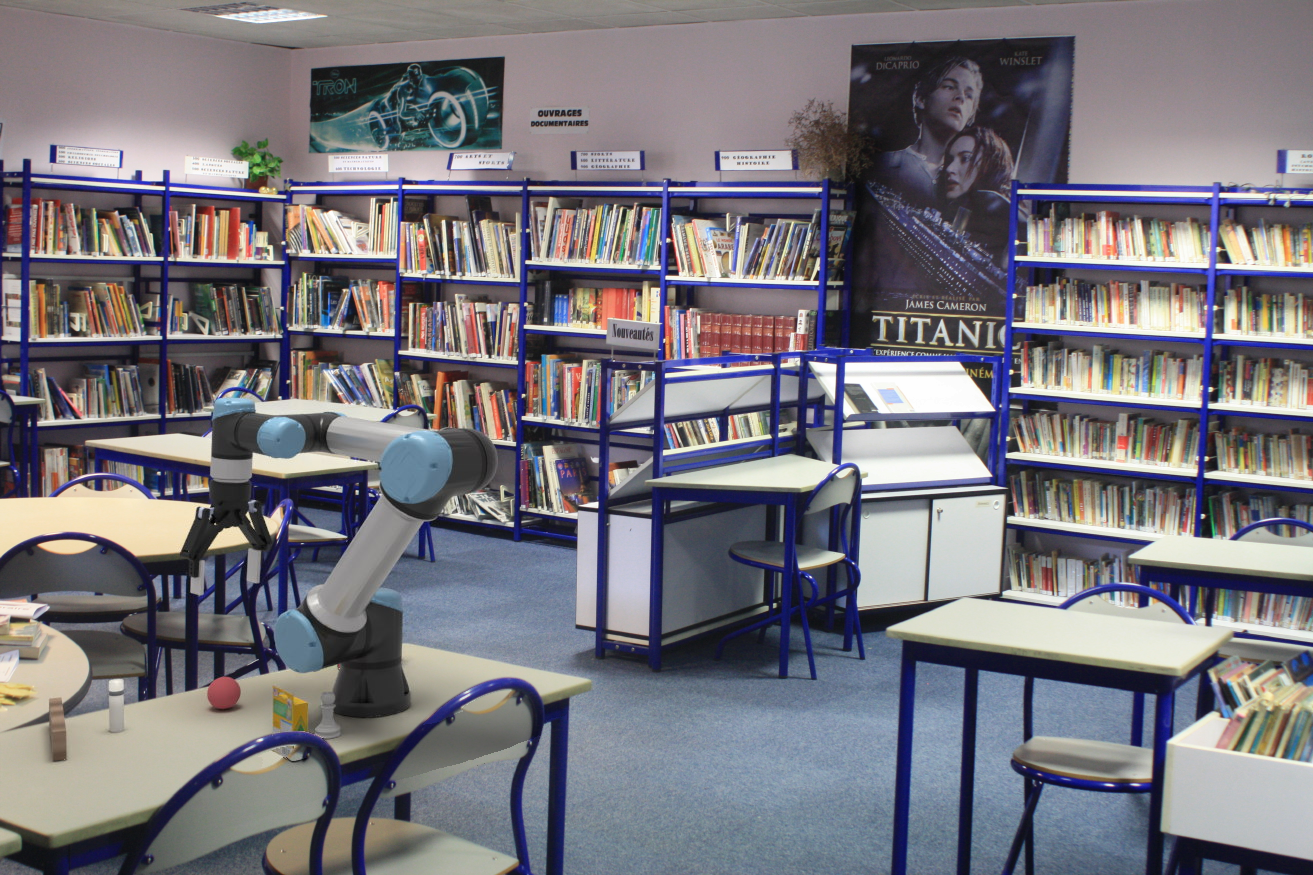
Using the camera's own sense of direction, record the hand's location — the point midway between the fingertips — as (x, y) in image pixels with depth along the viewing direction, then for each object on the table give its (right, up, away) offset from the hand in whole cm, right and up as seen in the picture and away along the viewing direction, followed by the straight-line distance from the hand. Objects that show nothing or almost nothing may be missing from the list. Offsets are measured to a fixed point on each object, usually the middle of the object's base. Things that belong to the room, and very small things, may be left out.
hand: (225, 587), depth 235 cm
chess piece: (+24, -25, -17) cm, 38 cm away
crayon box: (+21, -25, -27) cm, 43 cm away
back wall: (-20, -24, -24) cm, 40 cm away
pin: (-13, -23, -17) cm, 32 cm away
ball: (+1, -20, -4) cm, 20 cm away
